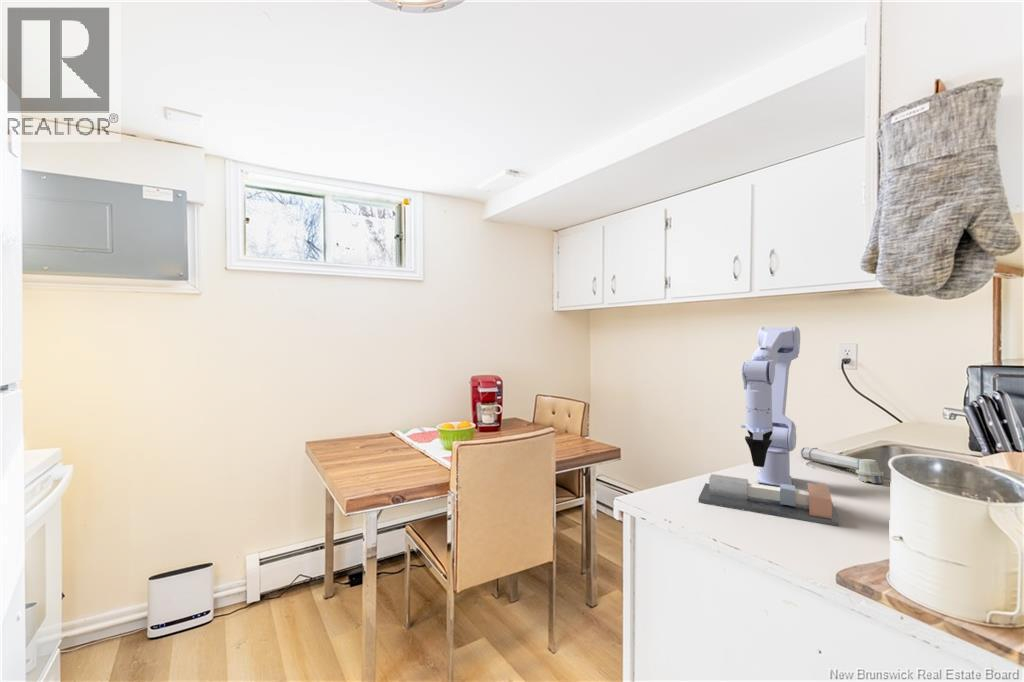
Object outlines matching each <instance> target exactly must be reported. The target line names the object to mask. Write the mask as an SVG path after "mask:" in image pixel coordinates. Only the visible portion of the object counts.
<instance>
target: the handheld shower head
mask: <svg viewBox="0 0 1024 682" xmlns="http://www.w3.org/2000/svg"><path fill="white" fill-rule="evenodd" d="M800 455H801V458H802V459H804V460H807V461H811V462H812V463H817V462H818V463H823V464H826V465H827V464H828V465H831V466H838V467H844V468H849V469H854V470H855V473H856V474H857V476H858V480H859V479H860V482H863V481H864V482H863V483H868V482H871V483H872V484H882V483H883V482H884V481H883V476H884V475H885V472H884V471H882V470H880V467H879V463H878V462H877V460H876V459H871V458H858V457H853V456H848V455H844V454H840V453H836V452H832V451H827V450H822V449H819V448H818V447H803V448H802V449H801V450H800ZM881 482H882V483H881Z"/></svg>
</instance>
